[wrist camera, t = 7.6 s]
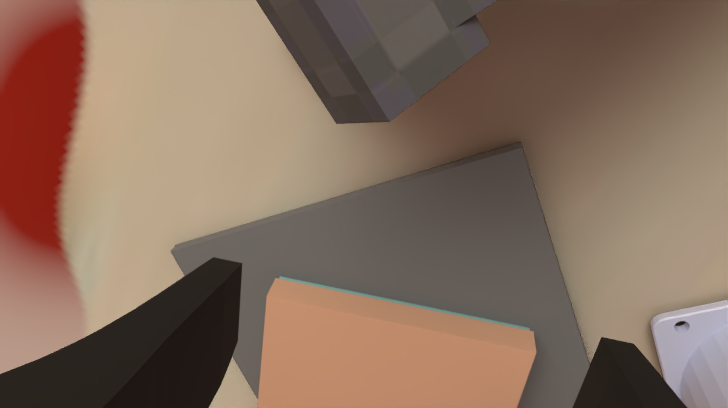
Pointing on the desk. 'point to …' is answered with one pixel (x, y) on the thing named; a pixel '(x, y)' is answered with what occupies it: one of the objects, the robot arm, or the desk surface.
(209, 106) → the desk surface
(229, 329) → the robot arm
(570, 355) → the mat
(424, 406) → the tile
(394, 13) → the handgun
